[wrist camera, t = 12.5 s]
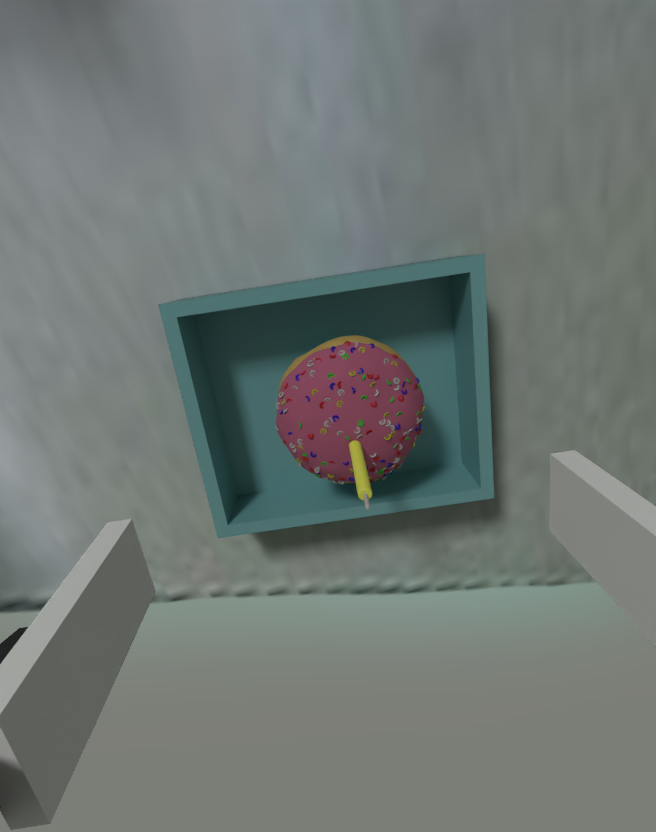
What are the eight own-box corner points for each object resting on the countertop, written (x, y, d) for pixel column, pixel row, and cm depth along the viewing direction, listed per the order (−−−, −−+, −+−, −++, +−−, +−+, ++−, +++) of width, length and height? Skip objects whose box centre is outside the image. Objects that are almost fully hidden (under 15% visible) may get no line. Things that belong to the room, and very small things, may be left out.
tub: (230, 503, 34) (217, 538, 29) (181, 299, 29) (158, 304, 25) (471, 468, 33) (494, 498, 29) (459, 256, 29) (484, 254, 24)
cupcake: (416, 441, 32) (471, 536, 20) (295, 463, 32) (282, 568, 21) (399, 316, 29) (451, 344, 18) (268, 341, 30) (236, 384, 18)
